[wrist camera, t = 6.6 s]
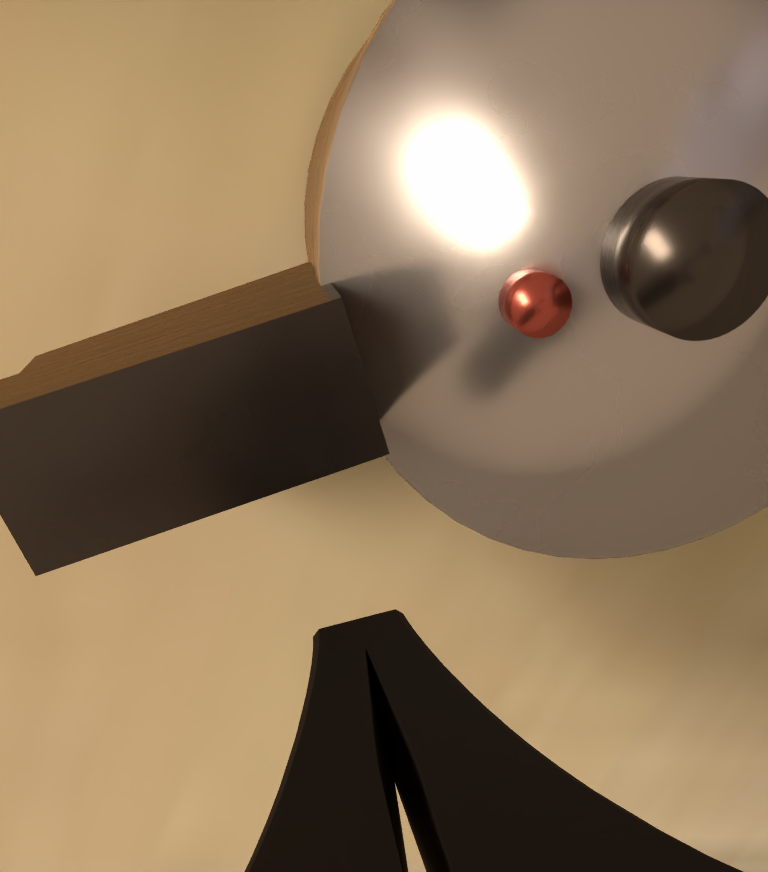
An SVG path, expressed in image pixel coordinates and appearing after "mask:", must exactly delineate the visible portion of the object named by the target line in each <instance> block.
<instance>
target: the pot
mask: <svg viewBox="0 0 768 872" xmlns="http://www.w3.org/2000/svg"><path fill="white" fill-rule="evenodd" d="M368 39H369V38H368ZM366 42H367V41H366ZM366 42H365V44H366ZM365 44H364V45H363V47H364V46H365ZM363 47H362V48H361V49H360V51H359V52H358V54H357V55H356V56H355V58H354V59H353V61H352V62H351V63H350V65H349V66H348V68H347V69H346V71H345V73H344V75H343V77H342V79H341V81H340V82H339V84H338V86H337V88H336V90H335V92H334V94H333V95H332V97H331V99H330V101H329V104H328V107H327V109H326V112H325V114H324V117H323V120H322V122H321V125H320V128H319V130H318V133H317V136H316V140H315V144H314V148H313V153H312V157H311V161H310V165H309V169H308V178H307V187H306V195H305V241H306V248H307V255H308V262H307V263H304V264H302V265H299V266H296V267H293V268H290V269H287V270H284V271H281V272H278V273H275V274H273V275H270V276H267V277H264V278H261V279H258V280H255V281H252V282H249V283H246V284H244V285H241V286H238V287H235V288H232V289H229V290H226V291H223V292H220V293H217V294H215V295H212V296H209V297H206V298H203V299H200V300H197V301H194V302H191V303H188V304H186V305H183V306H180V307H177V308H174V309H171V310H168V311H165V312H162V313H159V314H157V315H154V316H151V317H148V318H145V319H142V320H139V321H136V322H133V323H130V324H128V325H125V326H122V327H119V328H116V329H113V330H110V331H107V332H104V333H101V334H99V335H96V336H93V337H90V338H87V339H84V340H81V341H78V342H75V343H72V344H70V345H67V346H64V347H61V348H58V349H55V350H52V351H49V352H46V353H43V354H41V355H38V356H35V357H34V358H33V360H32V361H31V362H30V363H29V364H28V365H27V366H26V367H25V368H24V369H23V370H22V371H21V372H20V373H23V372H26V371H29V370H32V369H35V368H38V367H41V366H44V365H47V364H50V363H54V362H57V361H60V360H63V359H66V358H69V357H72V356H75V355H78V354H81V353H84V352H87V351H91V350H94V349H97V348H100V347H103V346H106V345H109V344H112V343H115V342H118V341H121V340H125V339H128V338H131V337H134V336H137V335H140V334H143V333H146V332H149V331H152V330H155V329H159V328H162V327H165V326H168V325H171V324H174V323H177V322H180V321H183V320H186V319H189V318H192V317H196V316H199V315H202V314H205V313H208V312H211V311H214V310H217V309H220V308H223V307H226V306H230V305H233V304H236V303H239V302H242V301H245V300H248V299H251V298H254V297H257V296H260V295H263V294H267V293H270V292H273V291H276V290H279V289H282V288H285V287H288V286H291V285H294V284H297V283H301V282H304V281H307V280H310V279H313V278H315V269H314V211H315V204H316V197H317V190H318V183H319V176H320V169H321V162H322V158H323V155H324V151H325V147H326V144H327V140H328V136H329V132H330V129H331V125H332V121H333V118H334V114H335V111H336V108H337V106H338V103H339V101H340V98H341V96H342V94H343V91H344V89H345V86H346V84H347V81H348V79H349V76H350V74H351V72H352V69H353V67H354V64H355V62H356V60H357V58H358V56H359V55H360V53H361V51H362V49H363ZM20 373H19V374H20Z"/></svg>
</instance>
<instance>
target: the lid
mask: <svg viewBox="0 0 768 872" xmlns="http://www.w3.org/2000/svg"><path fill="white" fill-rule="evenodd" d="M314 269H315V278H313V279H310V280H307V281H304V282H301V283H297V284H294V285H291V286H288V287H285V288H282V289H279V290H276V291H273V292H270V293H267V294H263V295H260V296H257V297H254V298H251V299H248V300H245V301H242V302H239V303H236V304H233V305H230V306H226V307H223V308H220V309H217V310H214V311H211V312H208V313H205V314H202V315H199V316H196V317H192V318H189V319H186V320H183V321H180V322H177V323H174V324H171V325H168V326H165V327H162V328H159V329H155V330H152V331H149V332H146V333H143V334H140V335H137V336H134V337H131V338H128V339H125V340H121V341H118V342H115V343H112V344H109V345H106V346H103V347H100V348H97V349H94V350H91V351H87V352H84V353H81V354H78V355H75V356H72V357H69V358H66V359H63V360H60V361H57V362H54V363H50V364H47V365H44V366H41V367H38V368H35V369H32V370H29V371H26V372H23V373H20V374H16V375H13V376H10V377H7V378H4V379H1V380H0V515H1V517H2V518H3V520H4V522H5V524H6V525H7V527H8V529H9V531H10V532H11V534H12V536H13V537H14V539H15V541H16V543H17V544H18V546H19V548H20V550H21V551H22V553H23V555H24V557H25V558H26V560H27V562H28V563H29V565H30V567H31V569H32V570H33V572H34V574H35V576H37V575H40V574H43V573H46V572H49V571H52V570H55V569H58V568H61V567H63V566H66V565H69V564H72V563H75V562H78V561H81V560H84V559H87V558H90V557H92V556H95V555H98V554H101V553H104V552H107V551H110V550H113V549H116V548H118V547H121V546H124V545H127V544H130V543H133V542H136V541H139V540H142V539H145V538H147V537H150V536H153V535H156V534H159V533H162V532H165V531H168V530H171V529H173V528H176V527H179V526H182V525H185V524H188V523H191V522H194V521H197V520H199V519H202V518H205V517H208V516H211V515H214V514H217V513H220V512H223V511H226V510H228V509H231V508H234V507H237V506H240V505H243V504H246V503H249V502H252V501H254V500H257V499H260V498H263V497H266V496H269V495H272V494H275V493H278V492H281V491H283V490H286V489H289V488H292V487H295V486H298V485H301V484H304V483H307V482H309V481H312V480H315V479H318V478H321V477H324V476H327V475H330V474H333V473H335V472H338V471H341V470H344V469H347V468H350V467H353V466H356V465H359V464H362V463H364V462H367V461H370V460H373V459H376V458H379V457H382V456H385V457H386V458H387V459H388V461H389V462H390V463H391V465H392V466H393V467H394V468H395V470H396V471H397V472H398V473H399V474H400V475H401V476H402V477H403V478H404V479H405V480H406V481H407V482H408V483H409V484H410V485H411V486H412V487H413V488H414V489H415V490H416V491H417V492H418V493H420V494H421V495H422V496H423V497H424V498H425V499H426V500H427V501H428V502H430V503H431V504H433V505H434V506H435V507H437V508H438V509H440V510H441V511H443V512H444V513H445V514H447V515H448V516H450V517H451V518H452V519H454V520H455V521H457V522H459V523H460V524H462V525H464V526H466V527H468V528H470V529H472V530H474V531H476V532H478V533H480V534H482V535H484V536H486V537H488V538H490V539H493V540H496V541H499V542H502V543H505V544H508V545H510V546H513V547H516V548H519V549H522V550H526V551H532V552H537V553H542V554H547V555H552V556H557V557H571V558H587V559H600V558H616V557H630V556H636V555H641V554H646V553H652V552H657V551H663V550H667V549H670V548H673V547H677V546H680V545H683V544H686V543H690V542H693V541H696V540H700V539H702V538H704V537H707V536H709V535H711V534H714V533H716V532H718V531H721V530H723V529H725V528H728V527H730V526H732V525H735V524H737V523H738V522H740V521H742V520H744V519H746V518H747V517H749V516H751V515H753V514H755V513H756V512H758V511H760V510H762V509H764V508H765V507H767V506H768V0H392V2H391V3H390V4H389V6H388V7H387V8H386V10H385V11H384V12H383V14H382V16H381V17H380V19H379V21H378V23H377V24H376V26H375V28H374V30H373V32H372V33H371V35H370V37H369V39H368V40H367V42H366V44H365V46H364V47H363V49H362V51H361V53H360V55H359V56H358V58H357V60H356V62H355V64H354V67H353V69H352V72H351V74H350V76H349V79H348V81H347V84H346V86H345V89H344V91H343V94H342V96H341V98H340V101H339V103H338V106H337V108H336V111H335V114H334V118H333V121H332V125H331V129H330V132H329V136H328V140H327V144H326V147H325V151H324V155H323V158H322V162H321V169H320V176H319V183H318V190H317V197H316V204H315V211H314Z"/></svg>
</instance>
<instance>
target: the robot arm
mask: <svg viewBox="0 0 768 872" xmlns="http://www.w3.org/2000/svg"><path fill="white" fill-rule="evenodd" d="M395 784H396V787H397V790H398V792H399V795H400V798H401V801H402V804H403V807H404V809H405V812H406V815H407V818H408V821H409V824H410V826H411V829H412V832H413V835H414V838H415V841H416V843H417V846H418V849H419V852H420V855H421V857H422V860H423V863H424V866H425V869H426V872H743V871H740V870H738V869H736V868H734V867H731V866H729V865H727V864H725V863H723V862H720V861H718V860H716V859H714V858H712V857H710V856H707V855H706V854H704V853H702V852H700V851H698V850H696V849H694V848H692V847H690V846H689V845H687V844H685V843H683V842H681V841H679V840H677V839H675V838H674V837H672V836H670V835H668V834H666V833H664V832H662V831H660V830H659V829H657V828H655V827H654V826H652V825H650V824H649V823H647V822H645V821H644V820H642V819H640V818H639V817H637V816H635V815H634V814H632V813H630V812H629V811H627V810H625V809H624V808H622V807H620V806H619V805H617V804H615V803H614V802H612V801H610V800H609V799H607V798H605V797H604V796H602V795H600V794H599V793H597V792H595V791H594V790H592V789H591V788H589V787H588V786H586V785H585V784H584V783H582V782H581V781H579V780H578V779H576V778H575V777H573V776H572V775H571V774H569V773H568V772H566V771H565V770H563V769H562V768H560V767H559V766H558V765H556V764H555V763H554V762H552V761H551V760H550V759H548V758H547V757H546V756H544V755H543V754H542V753H540V752H539V751H538V750H536V749H535V748H534V747H532V746H531V745H530V744H529V743H527V742H526V741H525V740H524V739H522V738H521V737H520V736H519V735H517V734H516V733H515V732H514V731H513V730H511V729H510V728H509V727H508V726H507V725H506V724H504V723H503V722H502V721H501V720H500V719H499V718H498V717H497V716H495V715H494V714H493V713H492V712H491V711H490V710H489V709H487V708H486V707H485V706H484V705H483V704H482V703H481V702H480V701H479V700H478V699H477V698H476V697H475V696H474V695H472V694H471V693H470V691H469V690H468V689H467V688H466V687H465V686H464V685H463V684H462V683H461V682H460V681H459V680H458V679H457V678H456V677H455V676H454V675H453V674H452V673H451V672H450V671H449V670H448V669H447V668H446V667H445V666H444V665H443V664H442V663H441V662H440V661H439V659H438V658H437V657H436V656H435V655H434V654H433V653H432V651H431V650H430V649H429V648H428V647H427V646H426V644H425V643H424V642H423V641H422V639H421V638H420V637H419V636H418V634H417V633H416V632H415V630H414V629H413V628H412V626H411V625H410V624H409V622H408V621H407V619H406V618H405V616H404V614H403V613H401V612H399V611H397V610H396V609H395V610H391V611H387V612H383V613H379V614H375V615H372V616H368V617H364V618H360V619H356V620H352V621H348V622H344V623H341V624H337V625H333V626H329V627H325V628H321V629H319V630H318V631H317V632H316V634H315V635H314V637H313V656H312V665H311V671H310V677H309V683H308V688H307V693H306V698H305V702H304V706H303V710H302V714H301V718H300V722H299V726H298V730H297V734H296V737H295V741H294V744H293V747H292V750H291V754H290V757H289V760H288V763H287V766H286V769H285V772H284V775H283V779H282V782H281V785H280V788H279V790H278V793H277V796H276V799H275V801H274V804H273V807H272V809H271V812H270V814H269V817H268V819H267V822H266V824H265V827H264V829H263V832H262V834H261V836H260V839H259V841H258V844H257V846H256V848H255V851H254V853H253V855H252V857H251V859H250V861H249V864H248V866H247V868H246V870H245V872H408V867H407V860H406V854H405V847H404V841H403V834H402V827H401V821H400V814H399V807H398V801H397V794H396V788H395Z"/></svg>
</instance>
